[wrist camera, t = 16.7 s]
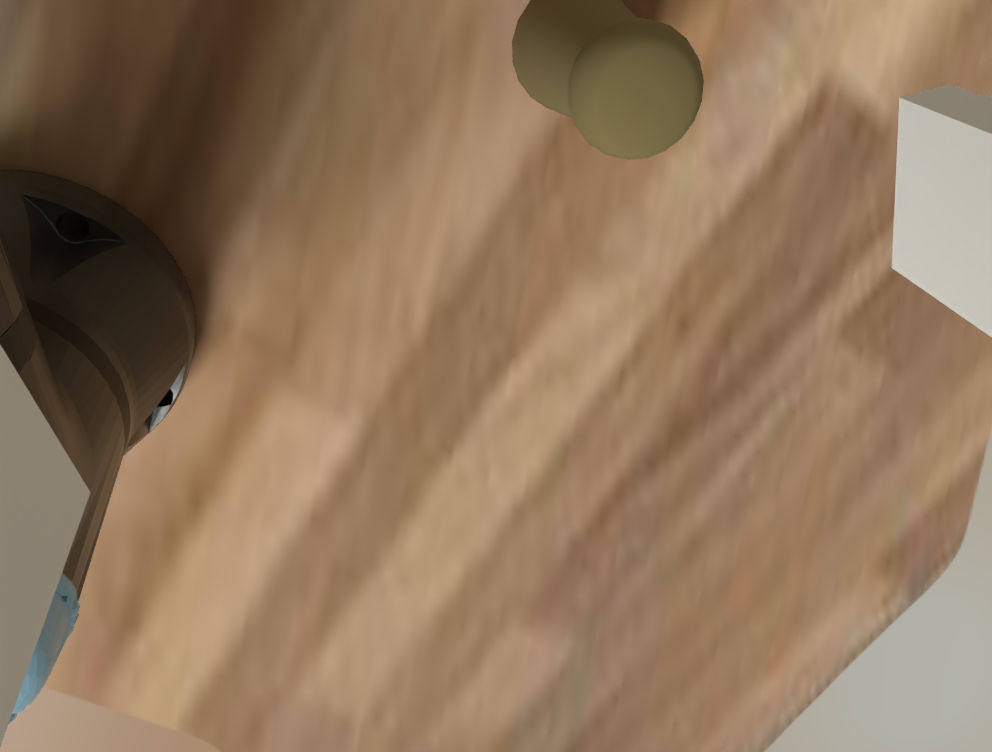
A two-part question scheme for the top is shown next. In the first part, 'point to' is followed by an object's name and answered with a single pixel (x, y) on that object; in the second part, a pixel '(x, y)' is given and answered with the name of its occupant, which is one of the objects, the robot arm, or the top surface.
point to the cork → (609, 73)
